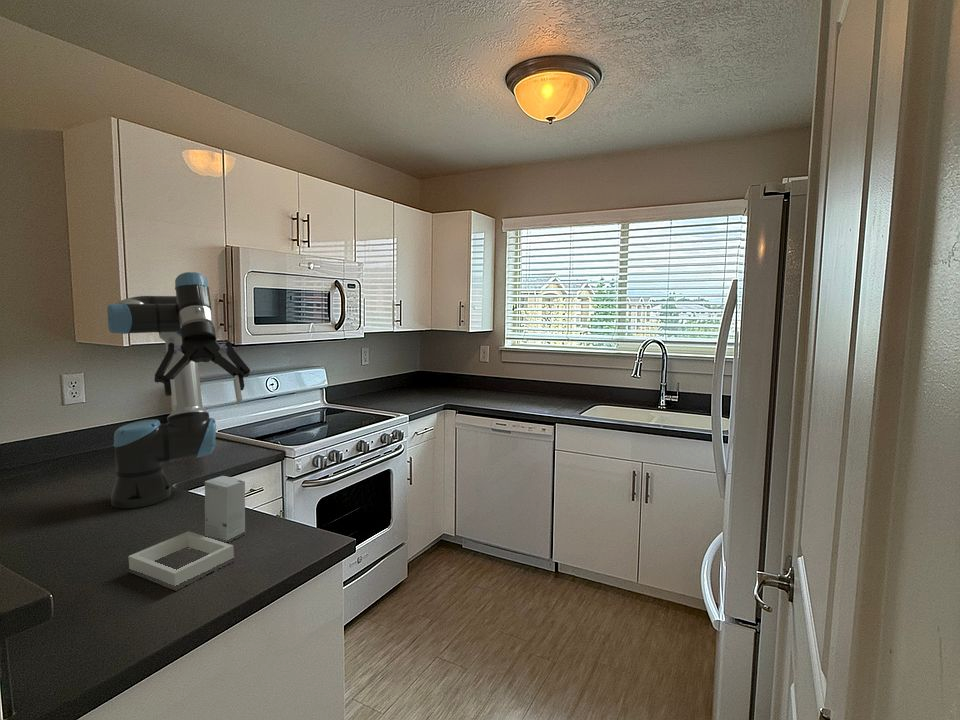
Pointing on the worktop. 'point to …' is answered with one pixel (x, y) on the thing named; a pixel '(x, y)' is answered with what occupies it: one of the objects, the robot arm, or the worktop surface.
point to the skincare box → (224, 507)
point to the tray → (147, 557)
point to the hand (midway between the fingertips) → (208, 404)
